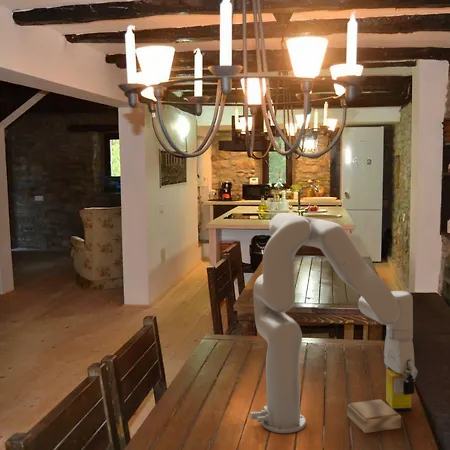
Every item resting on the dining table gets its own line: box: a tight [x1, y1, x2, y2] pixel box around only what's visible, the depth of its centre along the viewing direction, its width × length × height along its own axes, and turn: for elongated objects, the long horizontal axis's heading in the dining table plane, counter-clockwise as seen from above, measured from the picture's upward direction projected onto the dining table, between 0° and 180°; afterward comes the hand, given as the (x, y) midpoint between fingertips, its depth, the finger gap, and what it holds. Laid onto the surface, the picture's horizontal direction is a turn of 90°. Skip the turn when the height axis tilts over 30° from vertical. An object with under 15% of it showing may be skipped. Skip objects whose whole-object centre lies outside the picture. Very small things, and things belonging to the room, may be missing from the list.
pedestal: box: [346, 398, 402, 434], centre depth 160 cm, size 11×11×4 cm
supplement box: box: [385, 368, 412, 411], centre depth 169 cm, size 6×6×11 cm
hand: (399, 387), depth 169 cm, fingers open, 9 cm apart
